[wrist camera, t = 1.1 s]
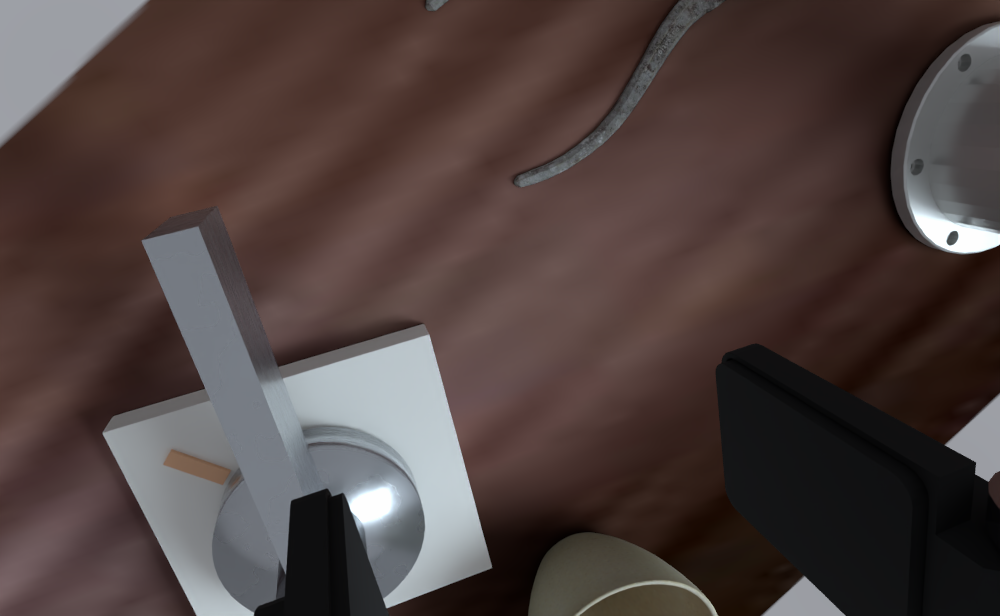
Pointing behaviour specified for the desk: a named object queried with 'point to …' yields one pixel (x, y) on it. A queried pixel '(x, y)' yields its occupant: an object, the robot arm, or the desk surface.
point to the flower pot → (611, 582)
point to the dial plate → (318, 403)
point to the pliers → (678, 21)
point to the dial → (273, 427)
